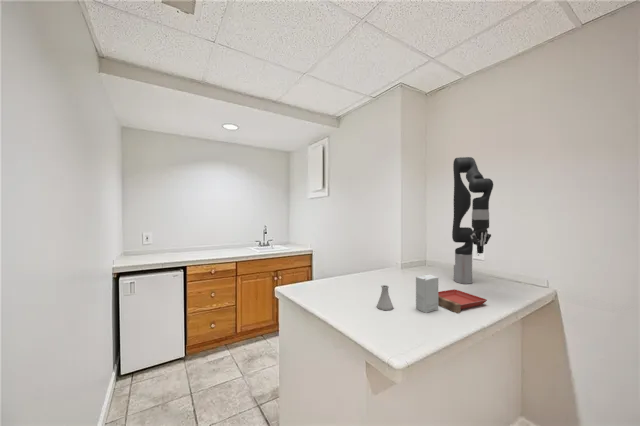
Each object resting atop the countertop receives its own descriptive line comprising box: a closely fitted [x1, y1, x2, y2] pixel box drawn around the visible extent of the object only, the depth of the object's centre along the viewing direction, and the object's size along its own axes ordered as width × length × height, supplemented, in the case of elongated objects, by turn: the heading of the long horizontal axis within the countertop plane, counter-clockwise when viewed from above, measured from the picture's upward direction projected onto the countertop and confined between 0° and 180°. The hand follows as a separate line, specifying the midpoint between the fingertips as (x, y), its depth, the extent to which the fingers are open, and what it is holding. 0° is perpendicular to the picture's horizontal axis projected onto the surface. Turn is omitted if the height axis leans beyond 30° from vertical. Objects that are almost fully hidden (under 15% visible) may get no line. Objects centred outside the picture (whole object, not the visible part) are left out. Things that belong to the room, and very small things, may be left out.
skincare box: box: [415, 274, 439, 314], centre depth 120 cm, size 8×6×15 cm
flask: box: [375, 284, 394, 311], centre depth 122 cm, size 7×7×10 cm
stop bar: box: [438, 296, 462, 314], centre depth 125 cm, size 20×2×4 cm, turn 22°
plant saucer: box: [438, 288, 488, 310], centre depth 129 cm, size 18×18×3 cm
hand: (480, 253), depth 135 cm, fingers closed
